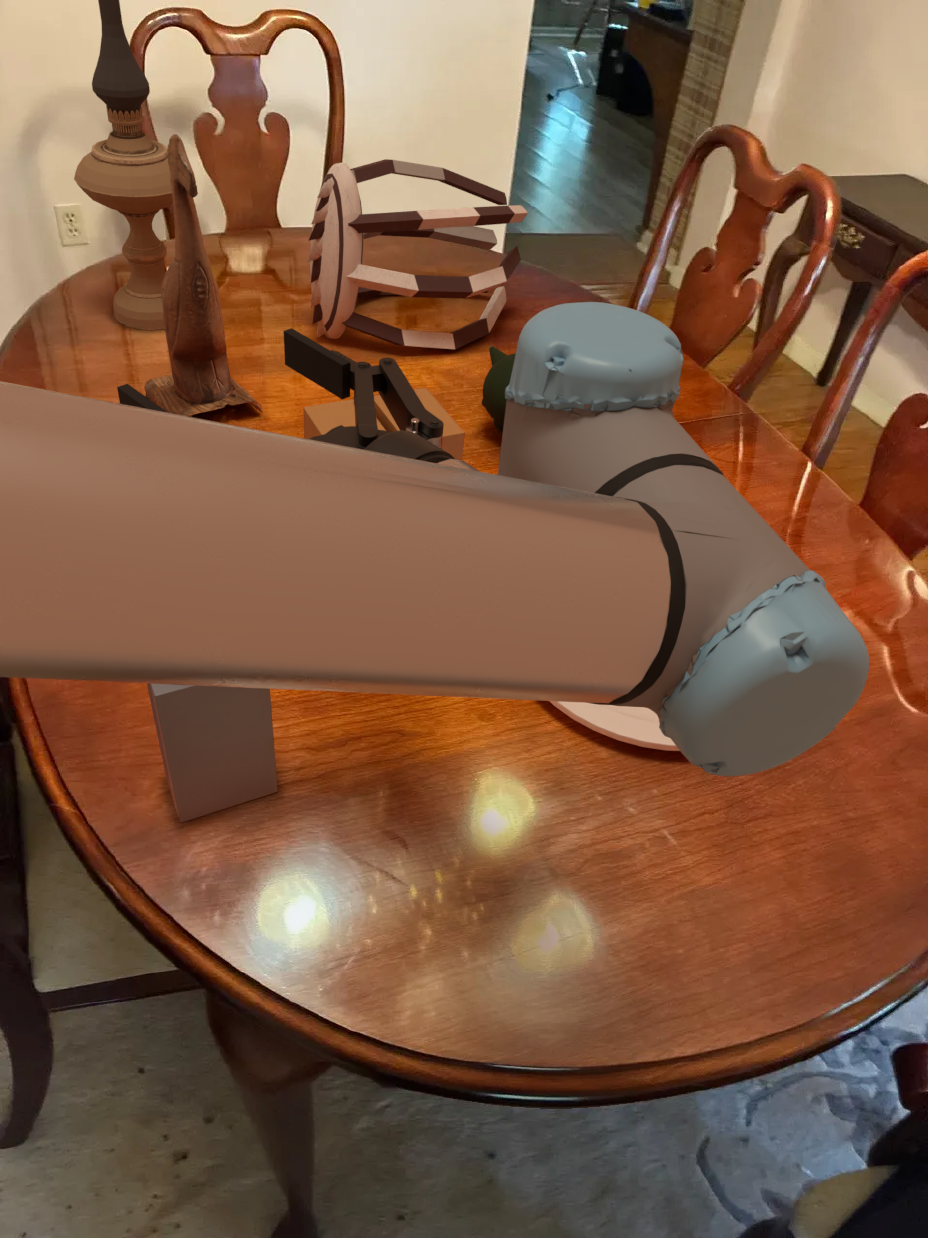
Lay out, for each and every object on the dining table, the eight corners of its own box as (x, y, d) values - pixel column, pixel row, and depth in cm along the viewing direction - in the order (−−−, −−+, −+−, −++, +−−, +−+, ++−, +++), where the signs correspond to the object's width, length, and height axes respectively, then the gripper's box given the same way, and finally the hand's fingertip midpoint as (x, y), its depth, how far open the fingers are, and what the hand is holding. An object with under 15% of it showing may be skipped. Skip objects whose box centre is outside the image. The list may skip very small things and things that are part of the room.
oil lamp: (195, 287, 144) (161, -20, 117) (215, 330, 134) (184, 6, 107) (92, 295, 139) (33, -24, 112) (106, 341, 129) (45, 2, 102)
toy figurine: (616, 506, 114) (509, 394, 127) (661, 373, 100) (536, 263, 113) (554, 525, 110) (450, 407, 123) (592, 389, 96) (471, 273, 109)
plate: (654, 536, 107) (659, 520, 106) (845, 692, 91) (854, 676, 90) (454, 613, 94) (455, 595, 93) (634, 810, 78) (640, 793, 77)
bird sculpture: (182, 439, 113) (145, 160, 91) (142, 396, 119) (98, 126, 98) (264, 416, 119) (247, 148, 97) (221, 376, 125) (197, 116, 103)
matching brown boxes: (336, 589, 94) (336, 456, 83) (306, 538, 100) (302, 406, 89) (451, 562, 99) (465, 432, 88) (416, 514, 105) (425, 387, 94)
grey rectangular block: (180, 823, 73) (154, 696, 63) (167, 781, 76) (140, 653, 66) (277, 792, 76) (268, 665, 66) (261, 753, 79) (250, 626, 69)
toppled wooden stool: (262, 303, 141) (450, 282, 159) (348, 385, 126) (545, 352, 144) (265, 130, 125) (473, 129, 143) (363, 200, 110) (583, 189, 128)
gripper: (259, 654, 51) (56, 481, 60) (546, 487, 65) (345, 370, 75) (250, 547, 46) (31, 377, 55) (563, 392, 60) (345, 279, 70)
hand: (211, 373), depth 65 cm, fingers open, 13 cm apart
